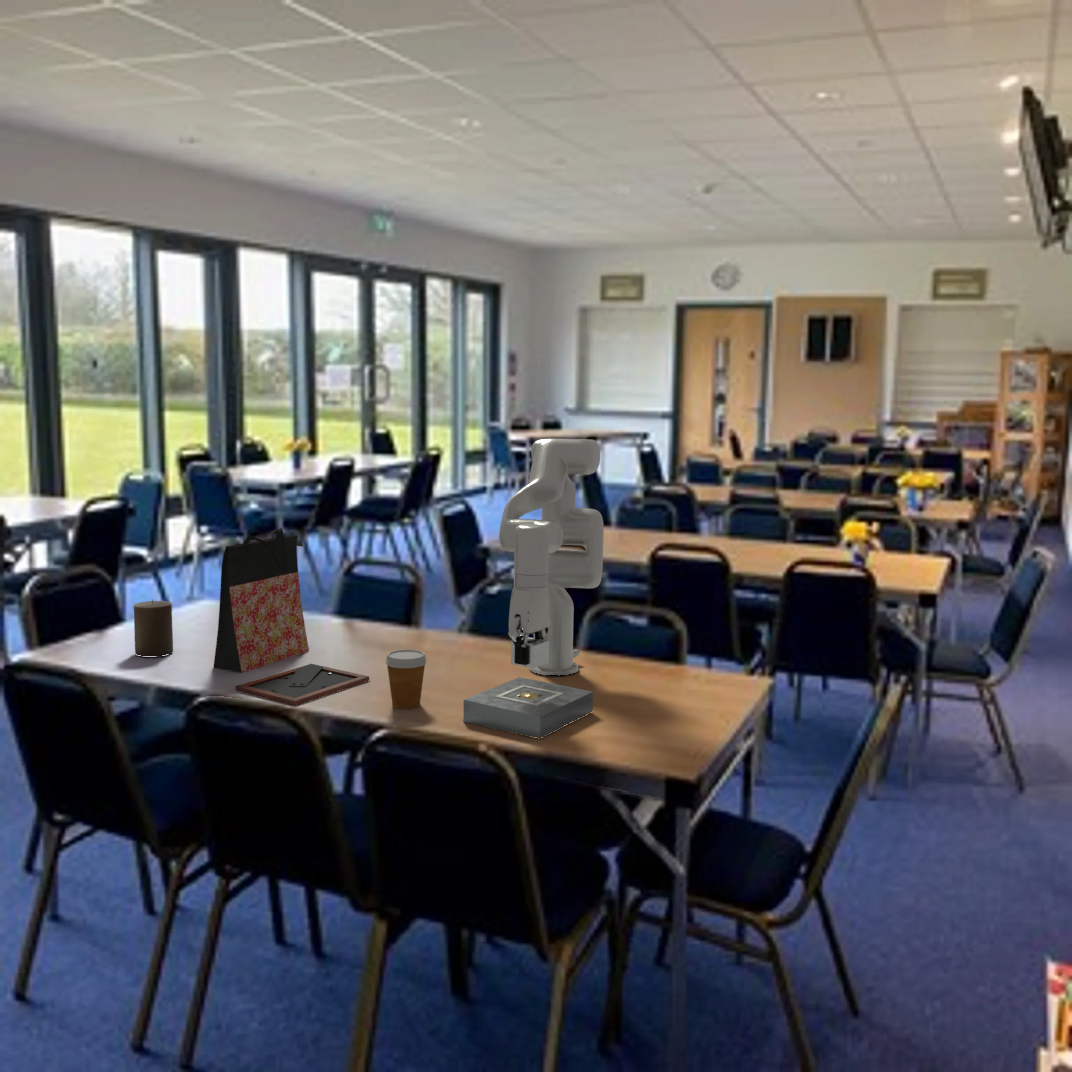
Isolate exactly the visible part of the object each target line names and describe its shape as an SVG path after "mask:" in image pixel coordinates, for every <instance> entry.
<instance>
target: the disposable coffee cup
mask: <svg viewBox="0 0 1072 1072" xmlns="http://www.w3.org/2000/svg"><path fill="white" fill-rule="evenodd" d="M384 660H385V664H386V666H387V672H388V673H387V674H388V682H389V688H390V689H389V690H390V695H391V705H392V707H394V708H396V709H402V710H409V709H415V708H418V707H420V705H421V699H422V697H421V696H422V688H423V681H424V673H425V667H426V663H427V661H428V659H427V657H426V653H425V652H424V651H422V650H418V649H417V650H416V649H397V650H392V651H390V652H388V653H387V654H386V658H385V659H384Z"/></svg>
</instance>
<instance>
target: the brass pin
mask: <svg viewBox="0 0 1072 1072" xmlns="http://www.w3.org/2000/svg"><path fill="white" fill-rule="evenodd" d="M520 698H525V699H530V700H534V699H536V698H538V694H537V693H532V692H526V693H522V694H520Z"/></svg>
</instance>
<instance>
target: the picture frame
mask: <svg viewBox="0 0 1072 1072" xmlns="http://www.w3.org/2000/svg"><path fill="white" fill-rule="evenodd" d="M368 680H369V681H370V676H369V675H363V674H360V673H355V672H350V671H346V670H341V669H337V668H333V667H327V666H324V665H323V666H322V665H319V664H315V663H308V664H306V665H302V666H299V667H296V668H291V669H289V670H285V671H282V672H279V673H276V674H275V673H274V674H271V675H269V676H266V677H265V676H264V677H261V678H259V679H255V680H252V681H249V682H244V683H241V684H238V685H235V686H234V688H235V689H234V690H235V691H236V692H238V693H242V694H246V695H251V696H254V697H259V698H262V699H266V700H270V701H274V702H277V703H280V704H281V703H282V704H285V703H286V704H287V705H290V706H294V707H297V706H299V705H301V703H302V704H305V703H309V702H310V700H311V701H315V700H317V699H319V697H320V698H323V697H326V696H330V695H332V694H334V693H333V692H335V693H338V692H340V691H339V690H341V691H343V690H342V689H344V690H346V688H347V689H350V688H352V686H353V687H356V686H358V685H357V684H359V685H361V683H362V684H364V683H363V682H365V681H368ZM369 681H368V682H369ZM365 683H366V682H365ZM355 685H356V686H355ZM349 687H350V688H349ZM337 691H338V692H337ZM331 693H332V694H331ZM325 695H326V696H325ZM322 696H323V697H322ZM304 702H305V703H304Z"/></svg>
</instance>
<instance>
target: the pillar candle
mask: <svg viewBox="0 0 1072 1072" xmlns="http://www.w3.org/2000/svg"><path fill="white" fill-rule="evenodd" d="M172 607H173V606H172V602H171V601H167V600H153V599H151V600H150V601H149V600H147V601H142V602H136V603H134V604H133V624H134V653H136V654H137V655H141V656H162V655H166V654H170V655H172V654H173V653H174V639H173V636H174V632H173V613H172V612H173V609H172ZM172 652H173V653H172ZM171 653H172V654H171ZM136 654H135V655H136Z"/></svg>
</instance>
